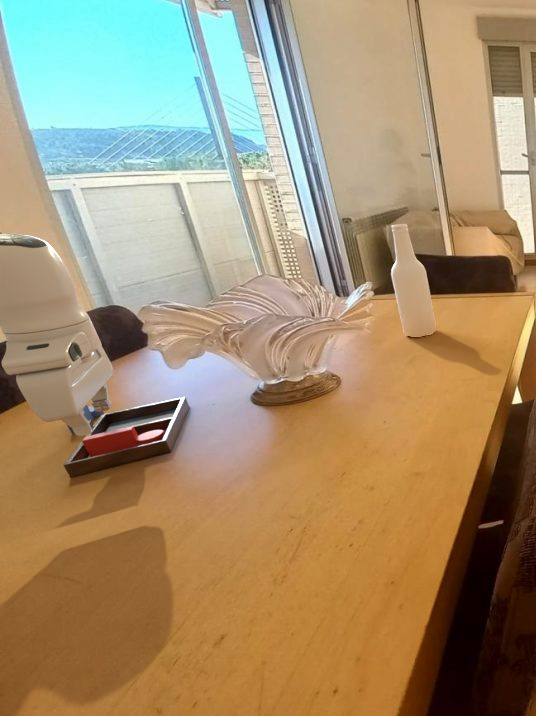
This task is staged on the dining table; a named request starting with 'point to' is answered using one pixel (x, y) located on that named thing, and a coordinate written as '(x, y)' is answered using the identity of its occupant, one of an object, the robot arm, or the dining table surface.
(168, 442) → the tray
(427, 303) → the alcohol
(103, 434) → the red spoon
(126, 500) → the dining table surface
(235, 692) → the dining table surface
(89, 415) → the blue toy piece
